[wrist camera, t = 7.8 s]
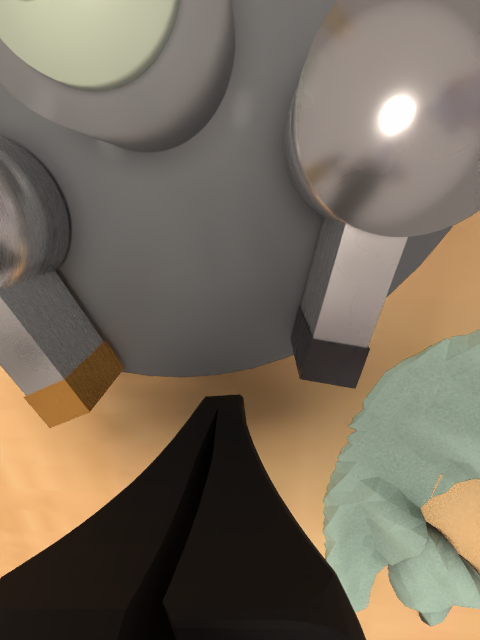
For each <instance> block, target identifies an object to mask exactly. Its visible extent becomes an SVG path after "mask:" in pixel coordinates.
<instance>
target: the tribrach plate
mask: <svg viewBox="0 0 480 640" xmlns="http://www.w3.org/2000/svg"><path fill="white" fill-rule="evenodd" d="M336 1H337V0H0V135H1V136H3V137H6V138H8V139H10V140H12V141H13V142H15V143H17V144H18V145H20V146H21V147H22V148H24V149H25V150H26V151H28V152H29V153H30V154H31V155H32V156H33V157H34V158H35V159H37V160H38V161H39V163H40V164H41V165H42V166H43V167H44V168H45V170H46V171H47V172H48V174H49V175H50V176H51V178H52V179H53V181H54V183H55V184H56V186H57V188H58V190H59V192H60V194H61V197H62V199H63V201H64V205H65V208H66V211H67V216H68V222H69V242H68V247H67V251H66V254H65V257H64V259H63V261H62V263H61V264H60V266H59V267H58V269H57V270H56V273H57V274H58V276H59V277H60V279H61V280H62V282H63V283H64V284H65V286H66V287H67V289H68V290H69V292H70V293H71V295H72V296H73V297H74V299H75V300H76V302H77V303H78V305H79V306H80V308H81V309H82V311H83V312H84V313H85V315H86V316H87V318H88V319H89V321H90V322H91V324H92V325H93V326H94V328H95V329H96V331H97V332H98V334H99V335H100V337H101V338H102V340H103V341H106V342H107V343H108V344H109V346H110V347H111V349H112V350H113V352H114V353H115V355H116V356H117V358H118V359H119V361H120V362H121V363H122V365H123V366H124V369H123V370H122V372H128V373H135V374H141V375H148V376H166V377H195V376H208V375H220V374H225V373H230V372H235V371H241V370H246V369H251V368H255V367H258V366H261V365H264V364H267V363H271V362H274V361H277V360H280V359H283V358H286V357H289V356H291V355H293V354H294V352H293V348H292V343H291V339H290V338H291V334H292V330H293V327H294V323H295V319H296V315H297V311H298V307H299V306H301V303H302V299H303V295H304V291H305V287H306V283H307V280H308V276H309V272H310V268H311V264H312V260H313V256H314V252H315V249H316V245H317V241H318V237H319V233H320V229H321V225H322V222H323V218H324V217H323V216H321V215H320V214H318V213H317V212H315V211H314V210H313V209H312V208H311V207H309V206H308V204H307V203H306V202H305V201H304V200H303V199H302V198H301V196H300V195H299V193H298V192H297V190H296V188H295V186H294V184H293V182H292V180H291V178H290V175H289V172H288V169H287V164H286V160H285V151H284V132H285V124H286V118H287V114H288V110H289V107H290V104H291V101H292V98H293V95H294V92H295V90H296V87H297V84H298V81H299V78H300V75H301V72H302V70H303V67H304V64H305V61H306V58H307V56H308V53H309V50H310V48H311V45H312V42H313V40H314V38H315V36H316V34H317V32H318V30H319V28H320V26H321V24H322V23H323V21H324V19H325V18H326V16H327V15H328V13H329V11H330V10H331V8H332V7H333V5H334V4H335V2H336ZM452 226H453V225H452ZM452 226H450V227H447V228H445V229H442V230H440V231H436V232H432V233H429V234H425V235H419V236H412V237H408V238H407V241H406V244H405V247H404V249H403V252H402V255H401V257H400V260H399V263H398V266H397V268H396V271H395V274H394V277H393V279H392V282H391V285H390V287H389V290H388V293H387V296H386V297H388V296H389V295H390V294H391V293H392V292H393V291H394V290H395V289H396V288H397V287H398V286H399V285H400V284H401V283H402V282H403V281H404V280H405V279H406V278H407V277H408V276H409V275H411V274H412V273H413V272H414V271H415V270H416V269H417V268H418V267H419V266H420V265H421V264H422V262H423V261H424V260H425V259H426V258H427V256H428V255H429V254H430V253H431V252H432V250H433V249H434V248H435V247H436V246H437V245H438V243H439V242H440V241H441V240H442V239H443V237H444V236H445V235H446V234H447V233H448V231H449V230H450V229H451V228H452Z"/></svg>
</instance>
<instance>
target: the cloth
mask: <svg viewBox="0 0 480 640" xmlns="http://www.w3.org/2000/svg"><path fill="white" fill-rule="evenodd" d="M349 427H351V428H353V429H355V430H357V431H355V432H354V433H352V434H351V435H349V436H348V437H347V438H348V442H349V443H348V444H347V445H346V446H345V447H343V448H342V451H341V453H340V454H339V456H338V459H339V461H338V462H336V464H335V471H334V472H333V473H332V474H331V478H330V483H329V485H328V486H327V492H326V495H325V497H324V501H323V502H324V504H325V508H324V511H323V513H324V516H325V519H324V529H323V534H324V536H325V538H326V542H325V547H326V551H325V556H326V561H327V562H328V564H329V565H330V566H331V567H332V568H333V570H334V571H335V572H336V574H337V576H338V578H339V580H340V582H341V584H342V586H343V588H344V590H345V592H346V594H347V596H348V598H349V601H350V603H351V605H352V607H353V609H354V611H355V613H356V612H358V611H361V610H363V609H365V608H366V607H367V606H368V603H369V597H370V591H371V588H372V585H373V582H374V580H375V577H376V574H377V573H379V572H380V571H381V570H382V569H383V567H385V566H386V565H388V570H389V574H388V575H389V581H390V583H391V585H392V587H393V589H394V591H395V593H396V595H397V598H398V599H399V600H400V601H401V602H402V603H403V604H404V605H405V606H406V607H409V608H411V609H414V610H416V611H419V614H420V618H421V620H422V621H423V622H425V623H426V624H428V625H429V626H433V625H436V624H439V623H441V622H443V621H444V619H445V617H446V616H447V614H448V612H449V611H450V609H451V607H452V605H455V606H461V607H468V608H476V609H480V574H479V573H478V572H477V571H476V570H475V569H474V568H473V567H472V566H471V565H470V564H469V563H468V562H467V561H466V560H465V559H464V558H463V557H462V556H460V555H459V554H458V553H457V552H456V550H455V549H454V548H453V546H452V545H451V544H450V543H449V542H448V540H447V539H446V538H445V537H444V536H443V535H442V534H441V533H440V532H439V531H437V530H436V529H435V528H434V527H432V526H431V525H430V524H429V523H427V522H426V521H425V519H424V516H423V514H422V512H421V509H420V508H421V507H422V506H423V505H424V504H425V503H426V502H427V501H428V500H429V499H430V498H431V495H432V492H433V490H434V487H435V485H436V483H437V480H438V478H439V475H440V474H443V475H442V478H441V480H440V482H439V484H438V486H437V488H436V490H435V492H434V494H433V496H432V497H434V496H437V495H440V494H443V493H446V492H447V491H448V490H449V489H450V488H451V487H452V486H453V485H454V484H455V483H459V482H463V481H467V480H471V479H480V329H479V330H477V331H475V332H472V333H470V334H468V335H460V336H452V338H451V339H450V340H449V339H447V338H446V339H444V340H442V341H440V342H438V343H436V344H434V345H432V346H429V347H428V348H426V349H425V350H423V351H422V352H420V353H418V354H417V355H415V356H412V357H409V358H407V359H404V360H403V361H401V362H400V363H399V364H397V365H396V366H394V367H393V368H392V369H390V370H388V371H386V372H385V373H384V375H383V376H382V377H381V379H380V380H379V381H378V383H377V384H376V385H375V387H374V388H373V389H372V391H371V392H370V393H369V395H368V396H367V397H366V399H365V400H364V401H363V410H362V411H360V412H359V413H358V414H357V415H356V416H355V417H354V418H353V421H352V422H351V424H350V425H349ZM388 443H389V444H388Z"/></svg>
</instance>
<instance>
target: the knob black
mask: <svg viewBox="0 0 480 640" xmlns="http://www.w3.org/2000/svg"><path fill="white" fill-rule="evenodd" d="M284 151H285V160H286V164H287V169H288V172H289V175H290V178H291V180H292V182H293V184H294V186H295V188H296V190H297V192H298V193H299V195H300V196H301V198H302V199H303V200H304V201H305V202H306V203H307V204H308V206H309V207H311V208H312V209H313V210H314V211H315V212H317V213H318V214H320V215H321V216H323V217H324V218H323V222H322V225H321V229H320V233H319V237H318V241H317V245H316V249H315V252H314V256H313V260H312V264H311V268H310V272H309V276H308V280H307V283H306V287H305V291H304V295H303V299H302V303H301V306H299V307H298V311H297V315H296V319H295V323H294V327H293V330H292V334H291V338H290V339H291V343H292V348H293V352H294V356H295V360H296V365H297V369H298V373H299V378H300V379H303V380H309V381H314V382H320V383H326V384H331V385H337V386H343V387H349V388H354V389H355V388H356V385H357V383H358V380H359V377H360V375H361V372H362V369H363V367H364V364H365V361H366V358H367V356H368V353H369V350H370V348H369V347H368V345H369V342H370V339H371V337H372V334H373V331H374V328H375V326H376V323H377V320H378V317H379V315H380V312H381V309H382V307H383V304H384V301H385V298H386V296H387V293H388V290H389V287H390V285H391V282H392V279H393V277H394V274H395V271H396V268H397V266H398V263H399V260H400V257H401V255H402V252H403V249H404V247H405V244H406V241H407V238H408V237H412V236H419V235H425V234H429V233H432V232H436V231H440V230H442V229H445V228H447V227H450V226H452V225H455V224H457V223H459V222H461V221H462V220H464V219H466V218H468V217H470V216H472V215H473V214H475V213H476V212H478V211H479V210H480V0H337V1H336V2H335V4H334V5H333V7H332V8H331V10H330V11H329V13H328V15H327V16H326V18H325V19H324V21H323V23H322V24H321V26H320V28H319V30H318V32H317V34H316V36H315V38H314V40H313V42H312V45H311V48H310V50H309V53H308V56H307V58H306V61H305V64H304V67H303V70H302V72H301V75H300V78H299V81H298V84H297V87H296V90H295V92H294V95H293V98H292V101H291V104H290V107H289V110H288V114H287V118H286V124H285V132H284Z"/></svg>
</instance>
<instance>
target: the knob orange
mask: <svg viewBox="0 0 480 640" xmlns="http://www.w3.org/2000/svg"><path fill="white" fill-rule="evenodd" d="M68 242H69V222H68V216H67V211H66V208H65V205H64V201H63V199H62V197H61V194H60V192H59V190H58V188H57V186H56V184H55V183H54V181H53V179H52V178H51V176H50V175H49V174H48V172H47V171H46V170H45V168H44V167H43V166H42V165H41V164H40V163H39V161H38V160H37V159H35V158H34V157H33V156H32V155H31V154H30V153H29V152H28V151H26V150H25V149H24V148H22V147H21V146H20V145H18V144H17V143H15V142H13V141H12V140H10V139H8V138H6V137H3V136H1V135H0V365H1V366H2V368H3V369H4V370H5V371H6V372H7V373H8V375H9V376H10V377H11V378H12V379H13V381H14V382H15V383H16V384H17V385H18V387H19V388H20V389H21V390H22V391H23V392H24V394H25V395H26V396H25V397H24V398H25V399H26V401H27V402H28V403H29V404H30V405H31V406H32V408H33V409H34V410H35V411H36V412H37V414H38V415H39V416H40V417H41V418H42V419H43V421H44V422H45V423H46V424H47V425H48V427H49V428H51V427H54V426H56V425H59V424H61V423H64V422H66V421H69V420H71V419H74V418H76V417H79V416H81V415H84V414H86V413H89V412H90V411H91V410H92V409H93V407H94V406H95V405H96V403H97V402H98V401H99V400H100V398H101V397H102V396H103V395H104V393H105V392H106V391H107V389H108V388H109V387H110V386H111V384H112V383H113V382H114V380H115V379H116V378H117V377H118V375H119V374H120V373H121V372H122V370H123V369H124V366H123V365H122V363H121V362H120V361H119V359H118V358H117V356H116V355H115V353H114V352H113V350H112V349H111V347H110V346H109V344H108V343H107V342H106V341H103V340H102V338H101V337H100V335H99V334H98V332H97V331H96V329H95V328H94V326H93V325H92V324H91V322H90V321H89V319H88V318H87V316H86V315H85V313H84V312H83V311H82V309H81V308H80V306H79V305H78V303H77V302H76V300H75V299H74V297H73V296H72V295H71V293H70V292H69V290H68V289H67V287H66V286H65V284H64V283H63V282H62V280H61V279H60V277H59V276H58V274H57V273H56V270H57V269H58V267H59V266H60V264H61V263H62V261H63V259H64V257H65V254H66V251H67V247H68Z"/></svg>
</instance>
